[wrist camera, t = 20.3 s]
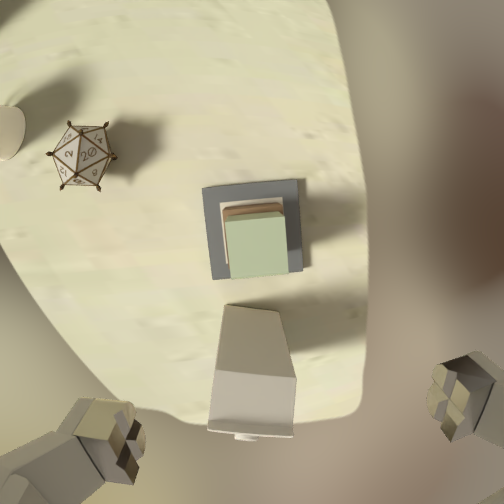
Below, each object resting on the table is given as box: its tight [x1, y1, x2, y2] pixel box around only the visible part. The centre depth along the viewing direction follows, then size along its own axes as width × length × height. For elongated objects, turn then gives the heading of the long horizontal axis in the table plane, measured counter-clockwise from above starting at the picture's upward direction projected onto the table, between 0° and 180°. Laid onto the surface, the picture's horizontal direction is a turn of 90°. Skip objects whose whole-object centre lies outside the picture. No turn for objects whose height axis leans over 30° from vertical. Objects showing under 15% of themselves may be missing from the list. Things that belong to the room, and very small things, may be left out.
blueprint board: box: [202, 180, 303, 280], centre depth 37 cm, size 11×11×1 cm
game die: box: [46, 120, 117, 192], centre depth 31 cm, size 9×8×10 cm
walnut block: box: [222, 202, 283, 269], centre depth 34 cm, size 6×6×5 cm
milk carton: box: [207, 305, 297, 441], centre depth 31 cm, size 7×7×19 cm
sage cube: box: [225, 211, 289, 279], centre depth 29 cm, size 5×5×5 cm
